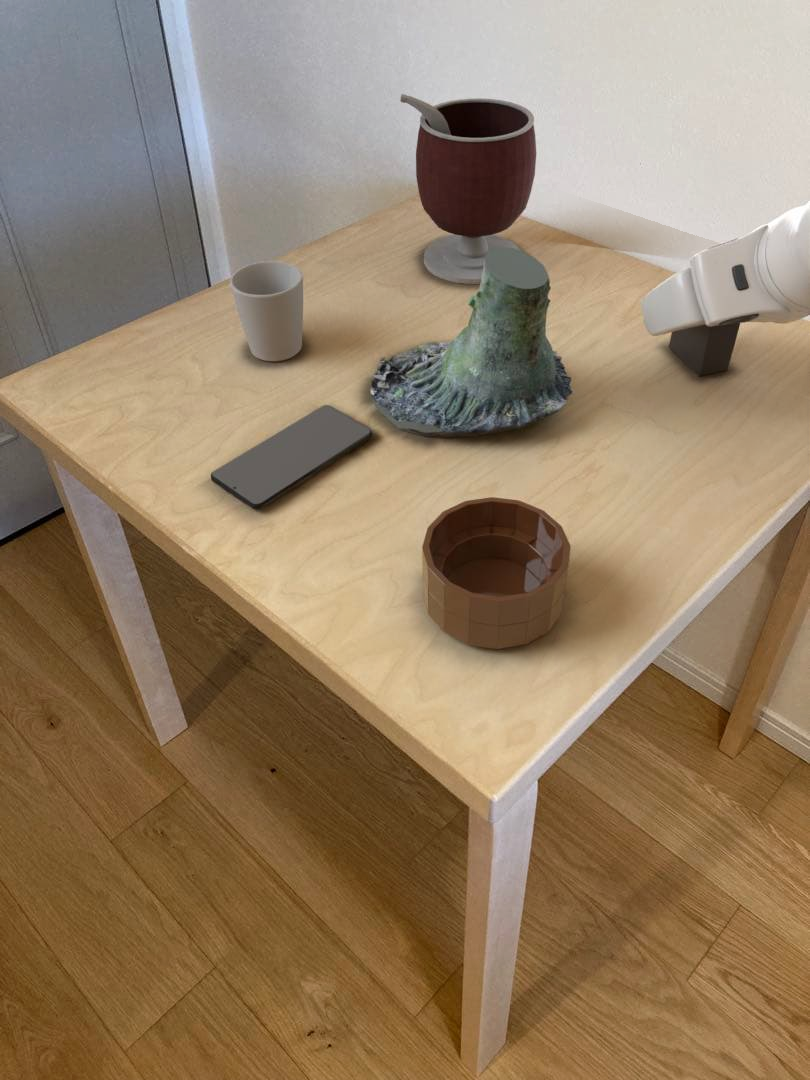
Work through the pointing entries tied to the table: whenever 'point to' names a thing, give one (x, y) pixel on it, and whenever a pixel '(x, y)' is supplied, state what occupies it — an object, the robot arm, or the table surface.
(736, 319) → the robot arm
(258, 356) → the cup
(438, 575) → the bowl
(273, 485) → the smartphone
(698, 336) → the case
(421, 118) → the mate gourd
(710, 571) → the table surface
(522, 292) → the tree stump
